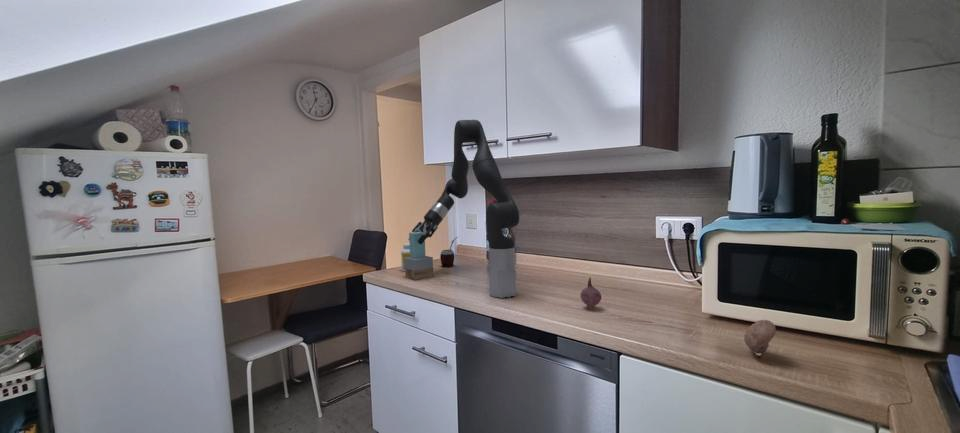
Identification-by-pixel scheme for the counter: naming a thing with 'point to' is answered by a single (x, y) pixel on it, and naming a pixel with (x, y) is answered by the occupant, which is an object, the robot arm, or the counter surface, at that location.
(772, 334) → the mushroom
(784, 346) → the counter surface
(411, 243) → the teal block
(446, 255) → the mate gourd
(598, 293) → the vegetable
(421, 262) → the top slab
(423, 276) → the bottom slab
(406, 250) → the supplement bottle
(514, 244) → the robot arm
